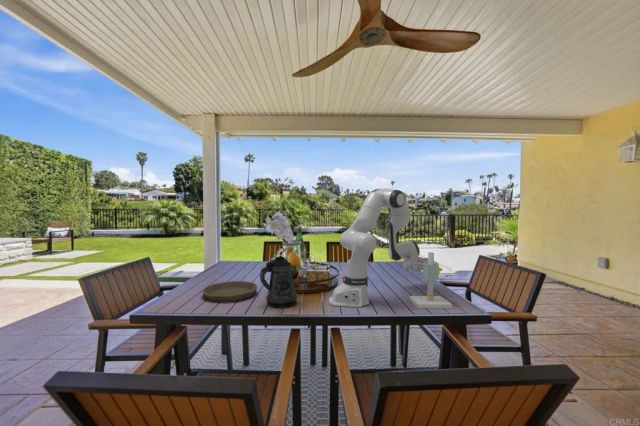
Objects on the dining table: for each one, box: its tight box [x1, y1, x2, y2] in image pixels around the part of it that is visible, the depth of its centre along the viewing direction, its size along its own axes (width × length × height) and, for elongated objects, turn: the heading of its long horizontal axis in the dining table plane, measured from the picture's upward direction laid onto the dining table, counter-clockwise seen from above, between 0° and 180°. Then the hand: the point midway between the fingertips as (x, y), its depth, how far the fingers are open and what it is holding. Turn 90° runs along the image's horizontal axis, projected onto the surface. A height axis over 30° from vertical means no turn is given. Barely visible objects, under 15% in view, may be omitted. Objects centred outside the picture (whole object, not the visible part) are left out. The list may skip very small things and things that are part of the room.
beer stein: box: [259, 256, 298, 309], centre depth 161 cm, size 16×19×25 cm
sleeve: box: [422, 263, 440, 281], centre depth 162 cm, size 6×6×8 cm
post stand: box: [409, 251, 453, 309], centre depth 163 cm, size 18×14×28 cm
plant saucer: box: [201, 280, 258, 303], centre depth 176 cm, size 31×31×5 cm
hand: (425, 268), depth 170 cm, fingers open, 8 cm apart
